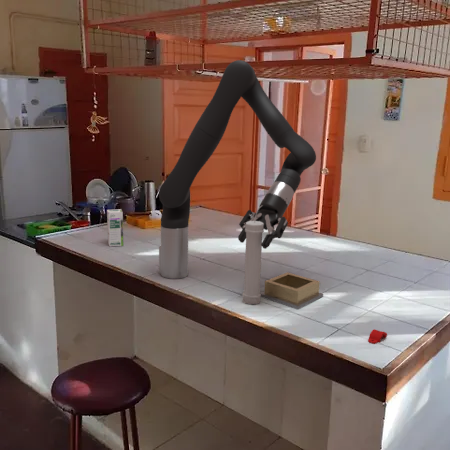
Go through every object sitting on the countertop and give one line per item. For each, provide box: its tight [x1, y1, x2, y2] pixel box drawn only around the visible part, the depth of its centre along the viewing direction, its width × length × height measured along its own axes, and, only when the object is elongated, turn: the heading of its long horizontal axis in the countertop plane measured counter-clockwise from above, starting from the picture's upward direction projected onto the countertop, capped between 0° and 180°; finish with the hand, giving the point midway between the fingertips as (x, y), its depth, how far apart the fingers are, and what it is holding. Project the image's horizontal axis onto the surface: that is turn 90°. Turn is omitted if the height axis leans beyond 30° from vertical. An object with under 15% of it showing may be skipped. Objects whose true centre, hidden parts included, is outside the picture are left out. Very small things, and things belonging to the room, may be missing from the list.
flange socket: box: [260, 271, 324, 310], centre depth 154 cm, size 14×14×5 cm
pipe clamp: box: [367, 329, 388, 345], centre depth 129 cm, size 8×3×2 cm, turn 138°
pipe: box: [242, 205, 265, 305], centre depth 147 cm, size 6×6×30 cm
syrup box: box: [106, 208, 124, 247], centre depth 204 cm, size 6×6×14 cm
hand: (251, 244), depth 145 cm, fingers open, 8 cm apart
